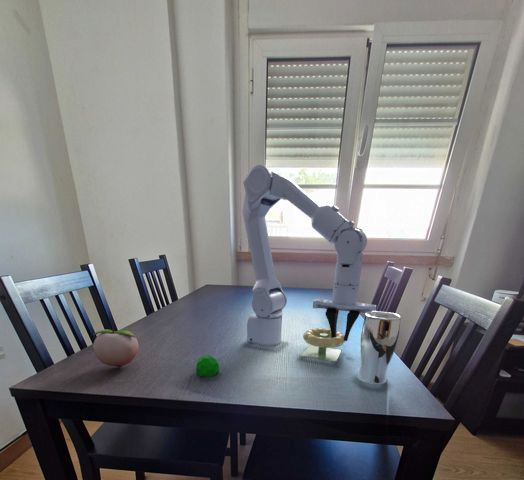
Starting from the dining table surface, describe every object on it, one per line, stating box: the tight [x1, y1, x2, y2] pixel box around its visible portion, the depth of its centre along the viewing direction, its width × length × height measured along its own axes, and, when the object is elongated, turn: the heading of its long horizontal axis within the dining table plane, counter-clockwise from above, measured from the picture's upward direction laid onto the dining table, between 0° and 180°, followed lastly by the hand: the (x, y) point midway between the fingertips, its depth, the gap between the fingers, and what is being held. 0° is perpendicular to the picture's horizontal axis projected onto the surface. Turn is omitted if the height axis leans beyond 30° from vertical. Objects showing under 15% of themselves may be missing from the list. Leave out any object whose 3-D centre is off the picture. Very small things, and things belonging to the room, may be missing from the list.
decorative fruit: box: [92, 325, 140, 368], centre depth 63 cm, size 9×8×10 cm
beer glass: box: [357, 310, 402, 386], centre depth 58 cm, size 7×7×15 cm
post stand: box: [300, 333, 343, 363], centre depth 73 cm, size 9×9×6 cm
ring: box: [302, 327, 346, 349], centre depth 72 cm, size 10×10×2 cm
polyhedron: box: [195, 355, 220, 378], centre depth 61 cm, size 5×5×5 cm
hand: (339, 339), depth 71 cm, fingers closed on ring, 2 cm apart
